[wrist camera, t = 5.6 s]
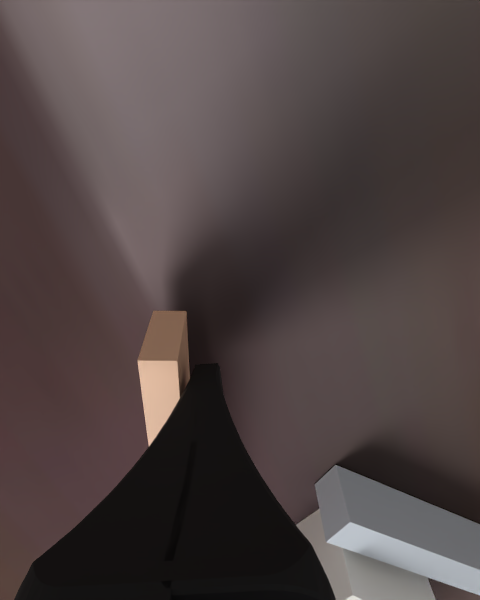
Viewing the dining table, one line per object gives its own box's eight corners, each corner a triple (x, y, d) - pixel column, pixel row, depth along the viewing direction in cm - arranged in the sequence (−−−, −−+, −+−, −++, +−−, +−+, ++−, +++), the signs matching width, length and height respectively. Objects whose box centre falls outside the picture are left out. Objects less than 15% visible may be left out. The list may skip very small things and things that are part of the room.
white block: (342, 583, 23) (362, 677, 19) (259, 546, 21) (265, 642, 17) (414, 542, 21) (450, 638, 17) (330, 497, 19) (352, 594, 15)
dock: (379, 621, 25) (394, 675, 22) (219, 574, 22) (218, 631, 19) (512, 537, 20) (546, 594, 18) (335, 464, 17) (350, 521, 15)
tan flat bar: (205, 580, 21) (200, 671, 18) (178, 580, 21) (168, 671, 18) (194, 302, 13) (181, 382, 10) (149, 302, 13) (122, 381, 10)
